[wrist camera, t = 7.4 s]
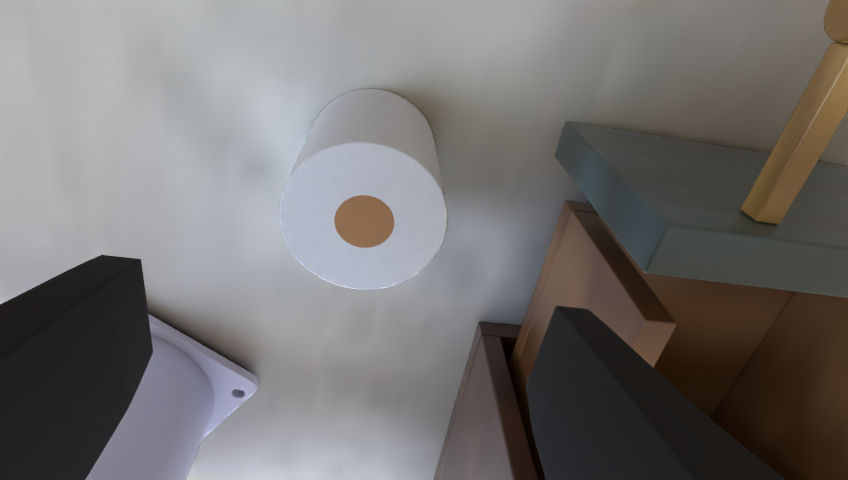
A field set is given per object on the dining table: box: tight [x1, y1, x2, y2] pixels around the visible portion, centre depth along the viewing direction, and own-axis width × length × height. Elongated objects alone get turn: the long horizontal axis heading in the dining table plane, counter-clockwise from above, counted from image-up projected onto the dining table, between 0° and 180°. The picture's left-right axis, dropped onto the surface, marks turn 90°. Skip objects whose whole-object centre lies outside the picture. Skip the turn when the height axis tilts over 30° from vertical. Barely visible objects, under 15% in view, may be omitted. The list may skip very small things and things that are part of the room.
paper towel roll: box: [279, 89, 448, 290], centre depth 15 cm, size 4×4×5 cm
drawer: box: [508, 0, 848, 480], centre depth 16 cm, size 18×11×7 cm, turn 170°
